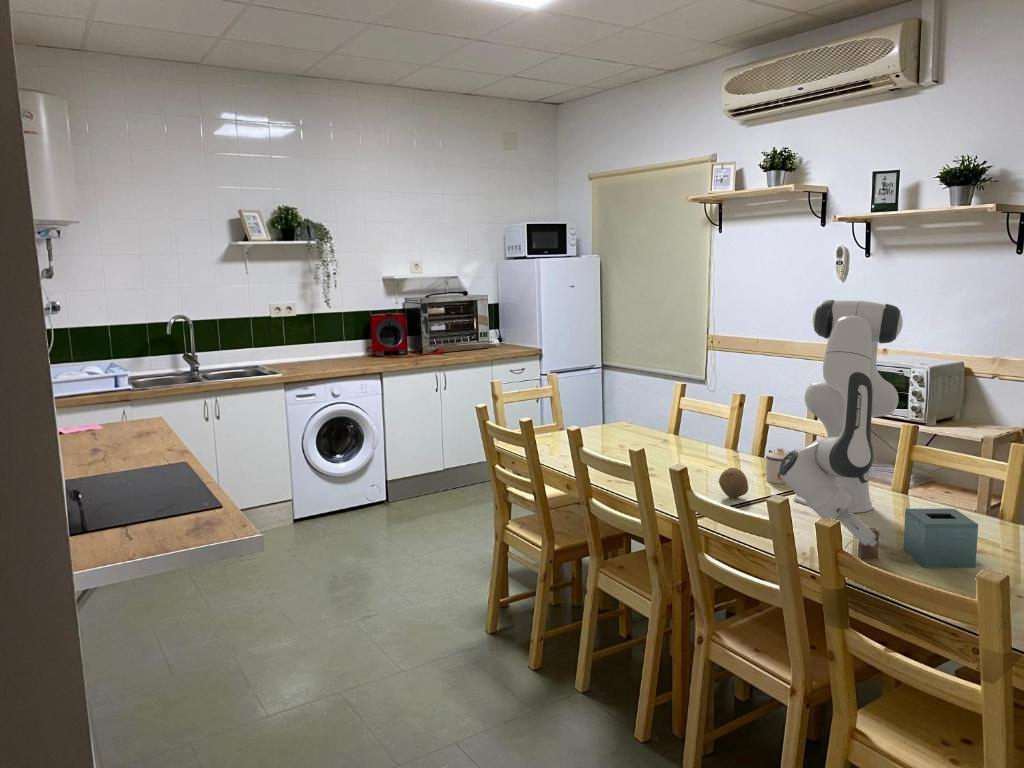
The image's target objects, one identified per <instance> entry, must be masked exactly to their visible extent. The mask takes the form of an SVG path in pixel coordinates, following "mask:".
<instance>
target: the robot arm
mask: <svg viewBox="0 0 1024 768" xmlns="http://www.w3.org/2000/svg"><path fill="white" fill-rule="evenodd" d="M903 321H904V320H903V316H902V314H901V310H900V309H899V307H898V306H896V305H893V304H890V303H885V304H882V303H878V302H873V301H865V300H835V299H827V300H822V301H821V302H820V303H818V305H817V307H816V308H815V310H814V312H813V316H812V325H813V330H814V332H815V334H817V336H819V337H822V338H824V339H825V340H827V339H828V341H827V343H826V347H825V352H824V357H823V363H822V364H823V365H822V377H823V379H824V380H819V381H815V382H811V383H810V384H809V385H808V386H807V388H806V389H805V393H804V404H805V406H806V408H807V409H808V411H809V413H811V414H813V415H814V416H815V417H817V418H818V419H819V421H820V422H821V423H822V425H823V426H824V428H825V431H826V433H827V436H826V437H820V438H817V439H815V440H813V441H812V442H811V443H810V444H809V445H807V446H805V447H802V448H799V449H794V450H791V451H788V452H789V453H788V454H787V455H786V456H785V457H784V459H783V460H782V462H781V464H780V469H779V471H780V475H781V477H782V478H783V480H784V481H785V482H786V483H787V484H786V485H787V486H788V487H789V488H790V489H791V490H792V491H793V492H794V494H795V495H794V498H793V501H794V502H796V503H801V504H803V505H806V506H809V508H811V510H813V512H815V514H817V515H818V516H819V517H820V518H821V519H822V518H832V519H835V520H839V521H838V522H840V523H841V525H843V527H845V529H847V530H848V532H850V533H851V534H852V535H853V536H854V537H855V538H856V539H857V540H858V541H860V542H861V543H862V544H864V545H865V546H867V545H868V544H869V545H870V546H872V547H873V546H875V545H876V544H877V541H876V540H875V538H876V535H875V534H874V533H873V532H872V531H871V530H870V529H869V528H870V527H869V526H867V525H866V523H864V522H863V521H862V520H861V519H860V518H859V517H858V516H857V515H855V513H866V512H870V511H871V510H873V505H872V502H871V495H870V489H869V488H870V487H869V480H870V476H871V473H870V472H871V468H872V466H873V463H874V456H875V455H874V447H873V443H872V435H871V432H872V418H877V417H878V418H880V417H884V416H890V415H892V414H893V413H894V412H895V410H896V409H897V407H898V404H899V394H898V391H897V389H896V388H895V386H894V385H893V384H892V383H890V382H889V381H887V380H886V379H884V378H883V376H882V375H881V374H880V373H879V370H878V367H877V359H878V358H877V357H878V346H879V344H888V343H889V344H891V343H892V342H894V341H895V340H897V338H898V336H899V334H901V331H902V328H903Z"/></svg>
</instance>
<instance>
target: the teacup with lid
mask: <svg viewBox="0 0 1024 768" xmlns="http://www.w3.org/2000/svg"><path fill="white" fill-rule="evenodd" d="M783 449H784V448H783V447H777V448H776V449H775V450H776V451H773V452H771V453H769V452H768V453H767V454H765V455H766V456H765V458H766V473H765V475H766V476H765V478H766V479H765V480H766V481H767V482H768V483H771V484H775V485H776V484H777V485H787V483H786V482H785V481H784V480H783V478H782V477H781V475H780V471H779V469H780V464H781V462H782V460H783V459H784V457H785V456H786V455H787V454H788V453H787V452H786V451H787V450H786V451H783Z"/></svg>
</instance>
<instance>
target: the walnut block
mask: <svg viewBox="0 0 1024 768" xmlns="http://www.w3.org/2000/svg"><path fill="white" fill-rule="evenodd" d="M868 528H869V529H870V530H871V531H872V532H873V533H874V534H875V535H876V538H875V540H876V541H877V544H876V545H875V546H873V547H872V546H870V545H869V544H868V545H867V546H865V545H864V544H862V543H861V542H860V541H859V540H858V542H857V543H858V544H857V545H858V546H857V547H858V549H857V557H858V558H859V559H860V558H861V559H862V561H863V560H864V561H866V560H865V559H867V560H868V559H878V560H879V544H880V543H879V542H880V531H879V530H878V528H876V527H868ZM861 559H860V560H861ZM868 561H869V560H868Z"/></svg>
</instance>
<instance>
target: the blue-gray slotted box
mask: <svg viewBox="0 0 1024 768" xmlns="http://www.w3.org/2000/svg"><path fill="white" fill-rule="evenodd" d="M904 510H905V512H904V515H905V516H904V531H903V532H904V533H903V534H904V535H903V550H904V551H905V552H906V553H907V554H908V555H909V554H910V555H911V556H912V559H914V560H915V561H916V562H917V563H918V564H919V565H920V564H921V565H920V566H922V568H943V569H944V568H945V569H946V568H948V569H949V568H954V569H955V568H958V569H959V568H960V569H962V568H964V569H965V568H966V569H971V568H972V569H976V566H977V548H978V534H979V523H977V522H976V521H974V520H972V518H970V517H968V516H967V515H965V514H963V513H962V512H961V511H960V510H957V509H956V508H905V509H904ZM910 555H909V556H910ZM911 556H910V557H911Z"/></svg>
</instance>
